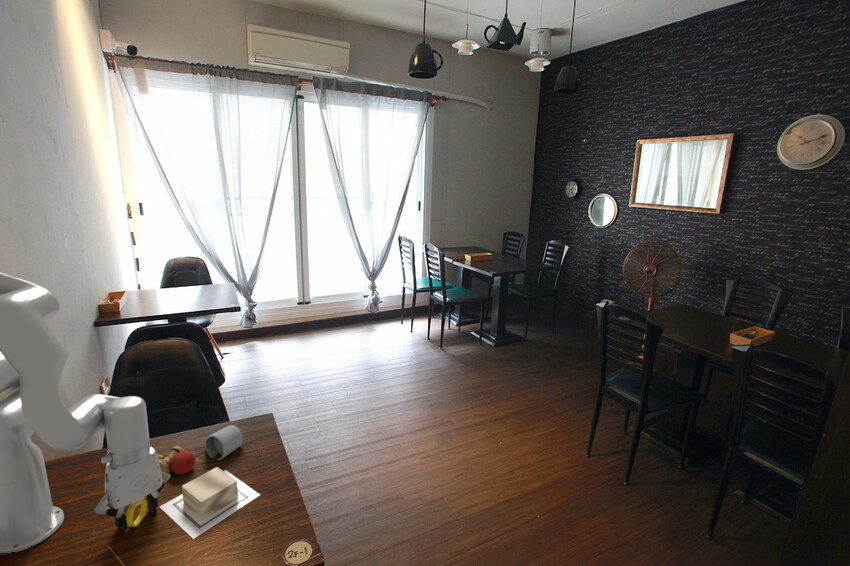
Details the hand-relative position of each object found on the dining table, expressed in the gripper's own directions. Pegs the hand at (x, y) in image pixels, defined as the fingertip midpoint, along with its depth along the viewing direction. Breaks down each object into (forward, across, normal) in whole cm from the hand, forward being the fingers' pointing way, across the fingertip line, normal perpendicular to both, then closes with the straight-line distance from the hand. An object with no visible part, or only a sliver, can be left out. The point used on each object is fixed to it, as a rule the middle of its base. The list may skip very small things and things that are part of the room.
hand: (137, 518), depth 97 cm
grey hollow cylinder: (+1, +26, +10) cm, 28 cm away
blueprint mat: (+1, +13, -7) cm, 15 cm away
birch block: (0, +13, -7) cm, 15 cm away
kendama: (+1, +13, +15) cm, 20 cm away
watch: (+1, 0, 0) cm, 1 cm away
